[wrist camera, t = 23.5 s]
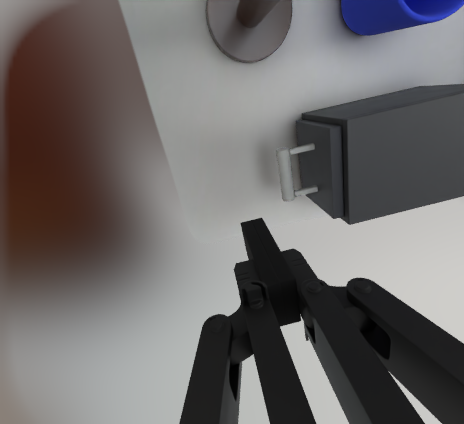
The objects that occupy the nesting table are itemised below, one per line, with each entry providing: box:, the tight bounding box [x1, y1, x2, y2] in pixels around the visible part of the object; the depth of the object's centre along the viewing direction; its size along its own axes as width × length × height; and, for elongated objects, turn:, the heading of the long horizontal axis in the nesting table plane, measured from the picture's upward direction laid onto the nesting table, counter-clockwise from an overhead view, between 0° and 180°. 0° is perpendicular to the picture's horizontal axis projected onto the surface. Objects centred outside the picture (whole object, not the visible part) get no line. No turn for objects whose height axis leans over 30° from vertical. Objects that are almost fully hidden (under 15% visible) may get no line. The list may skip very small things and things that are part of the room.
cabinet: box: [302, 84, 464, 225], centre depth 31 cm, size 16×11×11 cm
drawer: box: [276, 119, 344, 219], centre depth 31 cm, size 19×10×9 cm, turn 102°
